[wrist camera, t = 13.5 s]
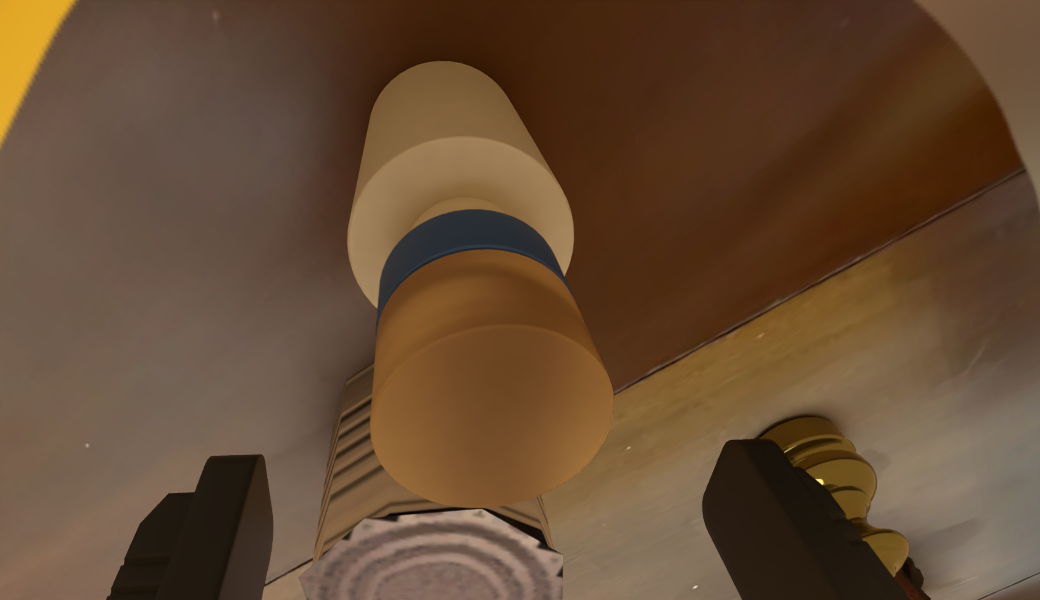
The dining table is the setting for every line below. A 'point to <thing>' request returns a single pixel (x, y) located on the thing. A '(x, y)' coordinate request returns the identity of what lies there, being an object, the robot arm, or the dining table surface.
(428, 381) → the tan short cylinder
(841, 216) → the dining table surface
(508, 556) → the can
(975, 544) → the dining table surface
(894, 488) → the dining table surface
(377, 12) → the dining table surface
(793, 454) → the brass weight
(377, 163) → the cream bottle
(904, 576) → the lantern
